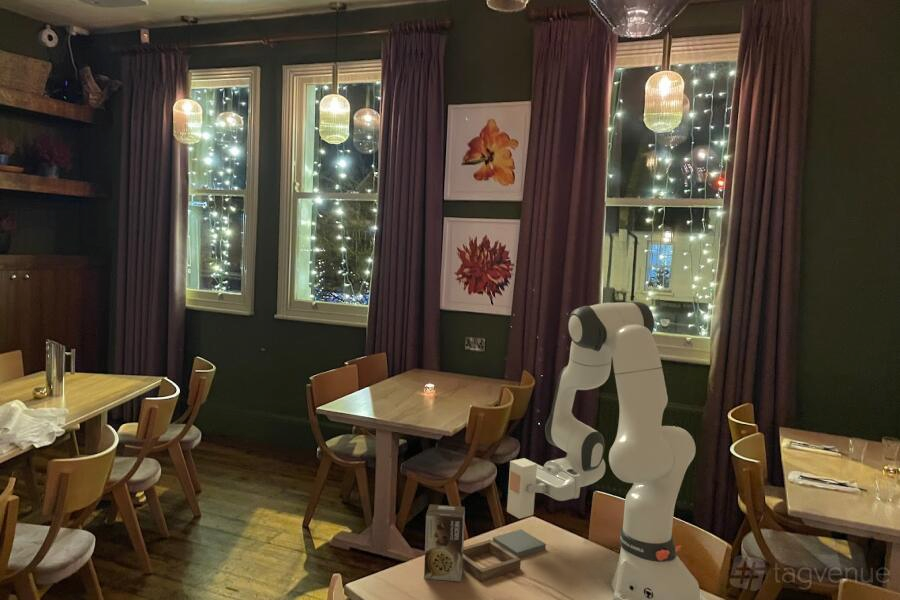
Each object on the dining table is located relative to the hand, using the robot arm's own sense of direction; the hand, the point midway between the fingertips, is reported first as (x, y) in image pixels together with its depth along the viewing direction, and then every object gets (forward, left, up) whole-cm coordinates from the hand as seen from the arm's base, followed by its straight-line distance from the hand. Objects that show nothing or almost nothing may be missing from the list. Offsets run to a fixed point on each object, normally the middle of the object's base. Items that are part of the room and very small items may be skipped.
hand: (519, 484), depth 174 cm
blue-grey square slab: (0, -1, -17) cm, 17 cm away
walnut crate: (-4, +13, -17) cm, 22 cm away
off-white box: (0, -1, -8) cm, 8 cm away
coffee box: (-2, +25, -17) cm, 31 cm away
